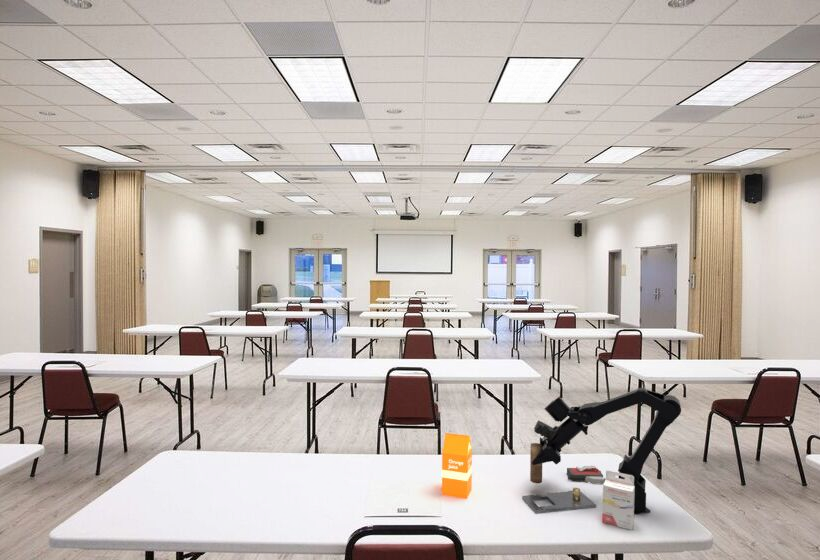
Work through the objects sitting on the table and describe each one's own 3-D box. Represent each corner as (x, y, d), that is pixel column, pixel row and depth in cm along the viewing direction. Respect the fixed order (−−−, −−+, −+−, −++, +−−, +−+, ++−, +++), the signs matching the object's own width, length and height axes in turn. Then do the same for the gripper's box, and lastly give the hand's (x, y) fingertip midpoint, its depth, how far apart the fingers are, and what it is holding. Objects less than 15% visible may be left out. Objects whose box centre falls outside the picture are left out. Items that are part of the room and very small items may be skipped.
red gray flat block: (569, 484, 174) (626, 486, 173) (570, 472, 174) (626, 473, 173) (563, 474, 182) (617, 475, 182) (563, 462, 182) (617, 463, 182)
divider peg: (544, 482, 166) (544, 446, 165) (533, 483, 165) (533, 447, 165) (538, 478, 170) (539, 442, 169) (528, 478, 169) (528, 443, 168)
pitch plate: (596, 507, 156) (596, 495, 156) (535, 513, 152) (535, 500, 152) (579, 493, 166) (579, 481, 166) (522, 498, 162) (522, 486, 162)
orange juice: (467, 498, 162) (467, 439, 161) (441, 494, 164) (441, 436, 164) (471, 488, 169) (472, 432, 169) (447, 485, 172) (447, 429, 171)
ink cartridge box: (601, 522, 147) (602, 474, 146) (604, 515, 151) (604, 469, 151) (632, 530, 142) (633, 481, 142) (634, 523, 147) (635, 475, 146)
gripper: (546, 407, 175) (515, 435, 178) (550, 422, 157) (515, 453, 159) (569, 430, 173) (537, 458, 176) (575, 449, 155) (539, 479, 158)
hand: (532, 461), depth 167 cm, fingers closed on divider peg, 4 cm apart
